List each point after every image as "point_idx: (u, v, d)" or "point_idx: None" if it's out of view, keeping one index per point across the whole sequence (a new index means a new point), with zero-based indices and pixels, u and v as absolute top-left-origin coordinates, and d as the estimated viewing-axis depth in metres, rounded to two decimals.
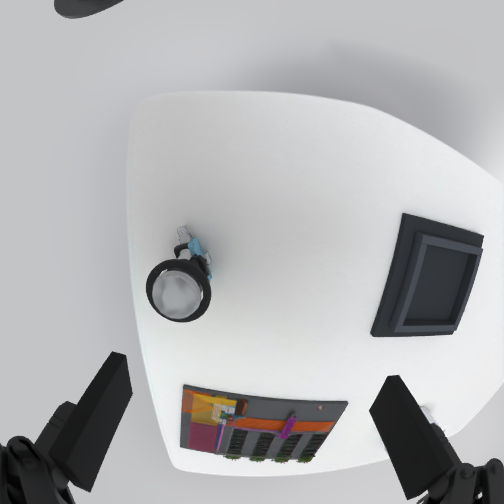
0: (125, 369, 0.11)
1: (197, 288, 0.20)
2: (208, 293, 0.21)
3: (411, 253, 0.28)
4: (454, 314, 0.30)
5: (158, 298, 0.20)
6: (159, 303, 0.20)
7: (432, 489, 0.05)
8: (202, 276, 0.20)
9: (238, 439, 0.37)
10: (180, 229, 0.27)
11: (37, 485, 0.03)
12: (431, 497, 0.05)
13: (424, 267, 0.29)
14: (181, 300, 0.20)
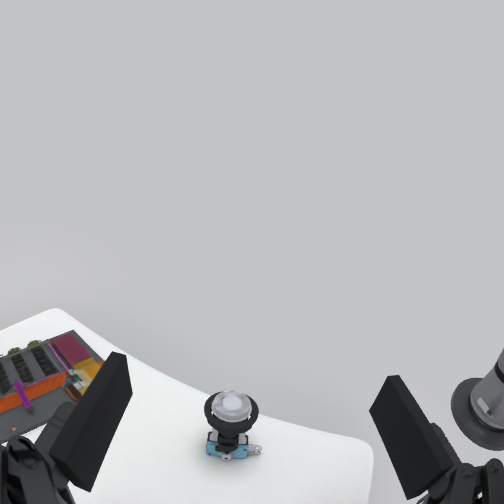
0: (125, 369, 0.11)
1: (230, 420, 0.21)
2: (221, 425, 0.21)
3: None
4: None
5: (236, 394, 0.24)
6: (232, 393, 0.24)
7: (432, 489, 0.05)
8: (237, 427, 0.21)
9: (44, 363, 0.31)
10: (260, 447, 0.25)
11: (37, 485, 0.03)
12: (431, 497, 0.05)
13: None
14: (228, 405, 0.22)
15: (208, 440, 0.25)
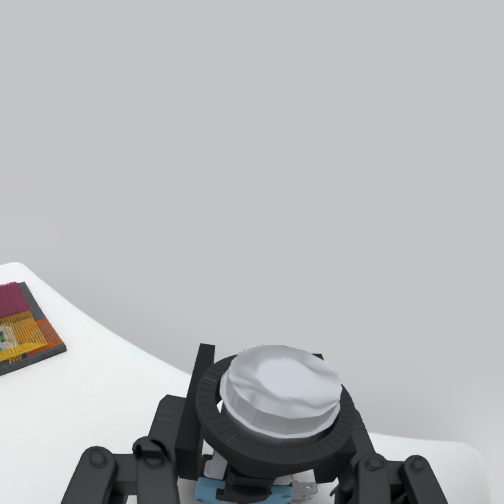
0: (213, 358, 0.13)
1: (284, 434, 0.06)
2: (254, 453, 0.05)
3: None
4: None
5: (293, 355, 0.09)
6: (282, 351, 0.09)
7: (339, 482, 0.07)
8: (308, 458, 0.05)
9: None
10: (314, 487, 0.10)
11: (157, 485, 0.05)
12: (341, 489, 0.07)
13: None
14: (277, 385, 0.07)
15: (200, 475, 0.09)
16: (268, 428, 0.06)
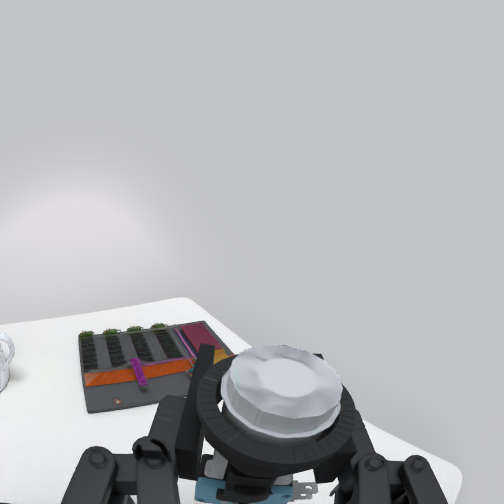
0: (213, 358, 0.13)
1: (285, 434, 0.06)
2: (255, 453, 0.06)
3: None
4: None
5: (294, 354, 0.09)
6: (283, 351, 0.09)
7: (339, 482, 0.07)
8: (309, 457, 0.05)
9: (168, 346, 0.42)
10: (315, 487, 0.10)
11: (157, 485, 0.05)
12: (341, 489, 0.07)
13: None
14: (278, 385, 0.07)
15: (201, 475, 0.09)
16: (269, 428, 0.06)
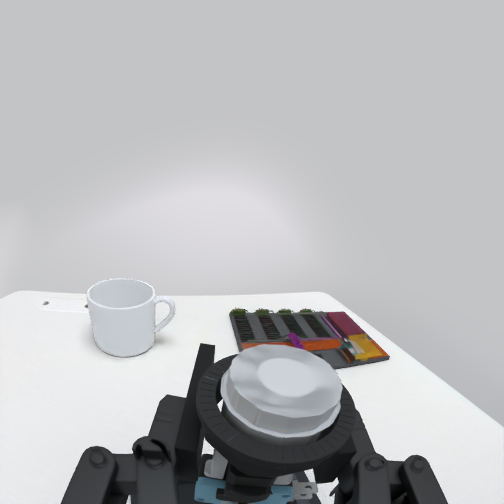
0: (213, 358, 0.13)
1: (285, 433, 0.06)
2: (255, 452, 0.06)
3: None
4: None
5: (293, 354, 0.09)
6: (283, 351, 0.09)
7: (339, 482, 0.07)
8: (309, 457, 0.05)
9: (317, 328, 0.48)
10: (314, 487, 0.10)
11: (157, 485, 0.05)
12: (341, 490, 0.07)
13: None
14: (278, 384, 0.07)
15: (200, 474, 0.09)
16: (269, 427, 0.06)
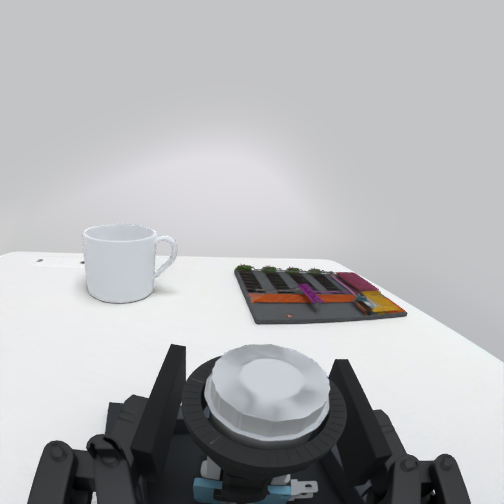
0: (184, 360, 0.12)
1: (268, 436, 0.06)
2: (237, 456, 0.05)
3: None
4: None
5: (280, 354, 0.09)
6: (269, 351, 0.09)
7: (373, 483, 0.07)
8: (293, 461, 0.05)
9: (328, 285, 0.45)
10: (314, 486, 0.10)
11: (114, 484, 0.05)
12: (374, 490, 0.07)
13: None
14: (261, 386, 0.07)
15: (198, 475, 0.09)
16: (251, 430, 0.06)
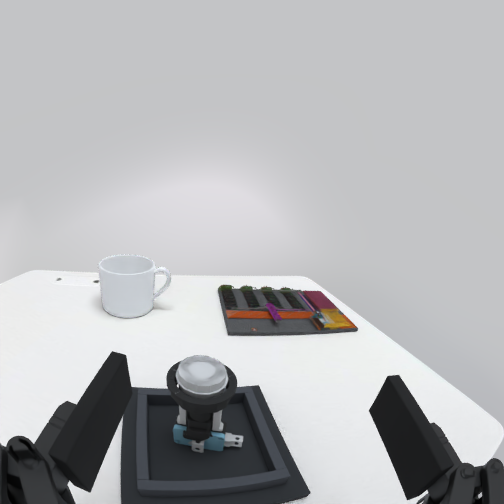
0: (125, 369, 0.11)
1: (197, 392, 0.17)
2: (184, 398, 0.16)
3: None
4: (147, 408, 0.23)
5: (209, 360, 0.19)
6: (204, 358, 0.19)
7: (432, 489, 0.05)
8: (205, 403, 0.16)
9: None
10: (241, 438, 0.20)
11: (37, 485, 0.03)
12: (431, 497, 0.05)
13: (240, 455, 0.20)
14: (196, 373, 0.18)
15: (176, 423, 0.20)
16: (191, 389, 0.17)
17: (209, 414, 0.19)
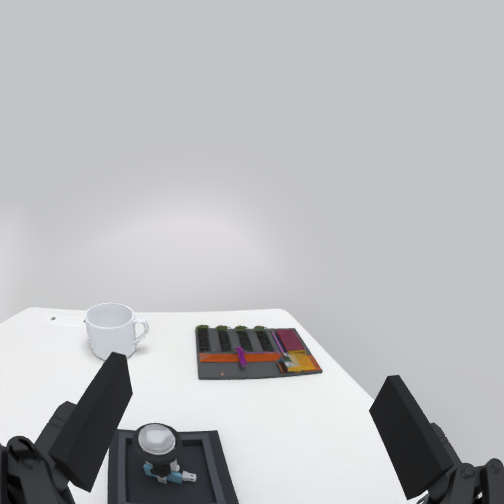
0: (125, 369, 0.11)
1: (151, 452, 0.19)
2: (143, 455, 0.19)
3: None
4: (126, 447, 0.25)
5: (162, 429, 0.22)
6: (158, 427, 0.22)
7: (432, 489, 0.05)
8: (157, 460, 0.19)
9: (264, 343, 0.59)
10: (194, 476, 0.23)
11: (37, 485, 0.03)
12: (431, 497, 0.05)
13: (195, 487, 0.23)
14: (151, 439, 0.21)
15: (145, 463, 0.23)
16: (148, 450, 0.20)
17: None
